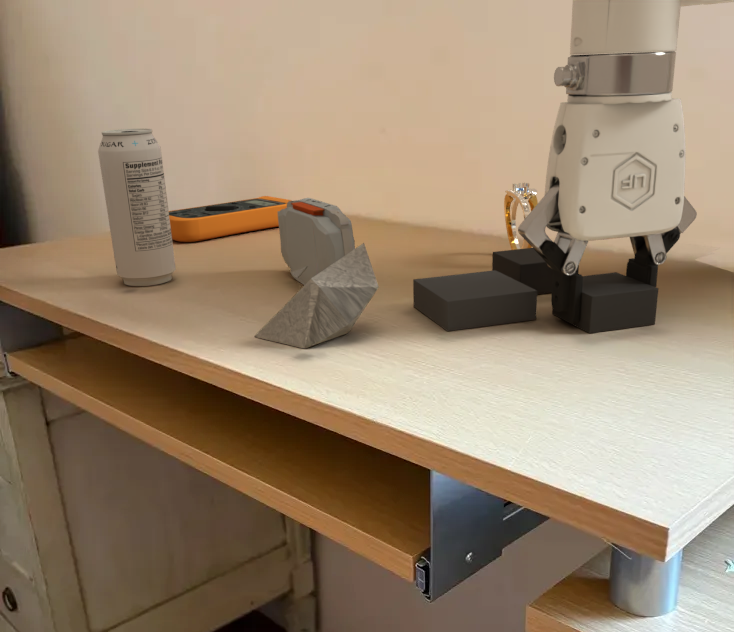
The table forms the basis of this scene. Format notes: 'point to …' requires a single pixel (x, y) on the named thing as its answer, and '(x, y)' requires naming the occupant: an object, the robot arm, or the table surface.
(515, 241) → the ring
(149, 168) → the energy drink can
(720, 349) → the table surface
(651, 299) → the black square block
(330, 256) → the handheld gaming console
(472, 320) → the base pad
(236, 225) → the multimeter
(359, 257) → the grey angular faceted piece
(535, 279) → the graphite pad
